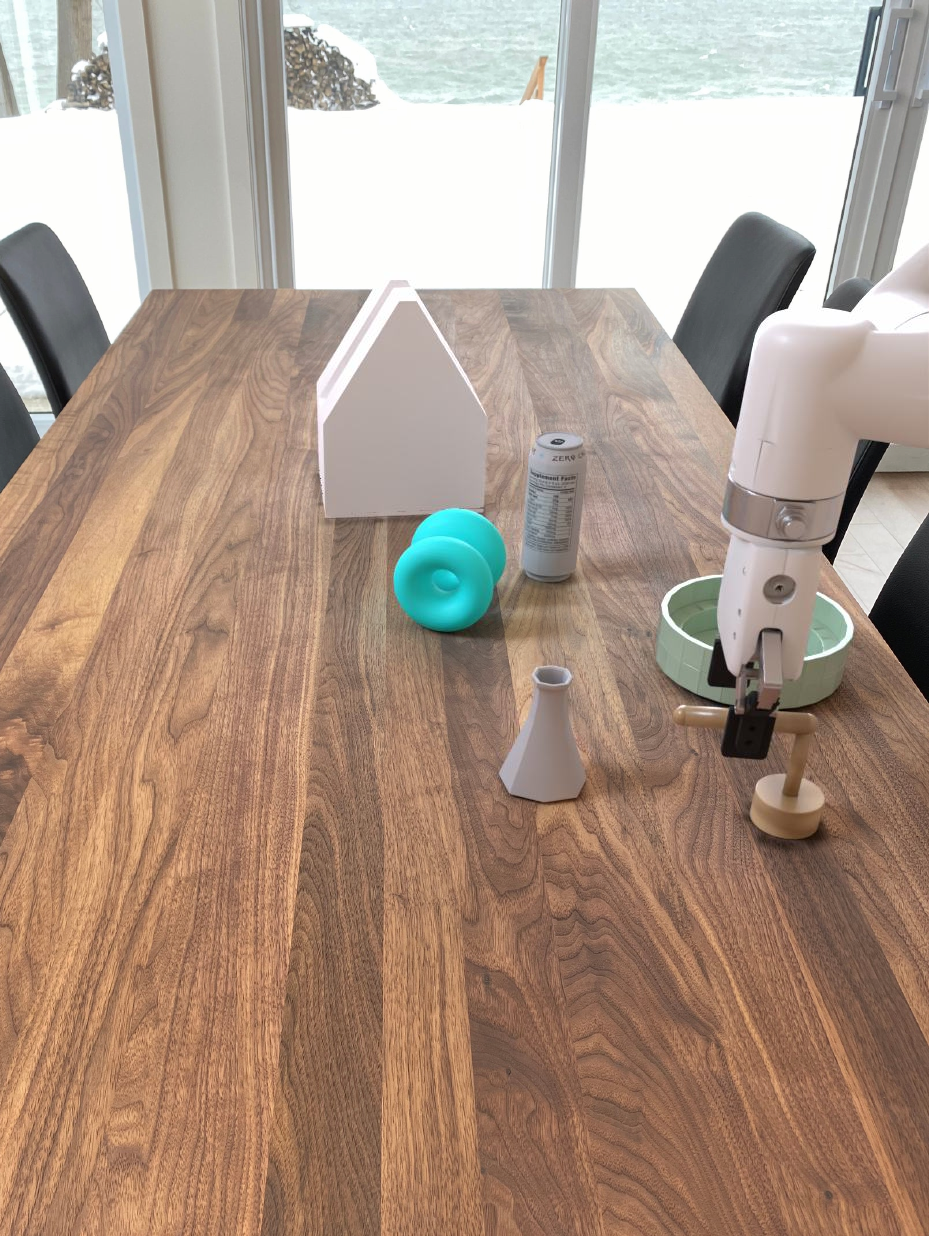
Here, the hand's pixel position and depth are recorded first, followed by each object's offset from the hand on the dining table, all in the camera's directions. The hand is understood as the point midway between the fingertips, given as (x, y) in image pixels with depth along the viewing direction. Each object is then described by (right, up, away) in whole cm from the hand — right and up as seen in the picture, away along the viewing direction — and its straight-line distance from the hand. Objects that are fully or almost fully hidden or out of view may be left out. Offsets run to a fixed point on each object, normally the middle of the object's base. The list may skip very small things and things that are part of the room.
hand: (734, 719), depth 89 cm
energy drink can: (-8, +17, +41) cm, 45 cm away
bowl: (+9, +6, +24) cm, 26 cm away
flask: (-13, -5, +9) cm, 17 cm away
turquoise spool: (-19, +12, +33) cm, 40 cm away
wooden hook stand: (+2, -8, +5) cm, 9 cm away
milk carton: (-24, +30, +60) cm, 72 cm away
